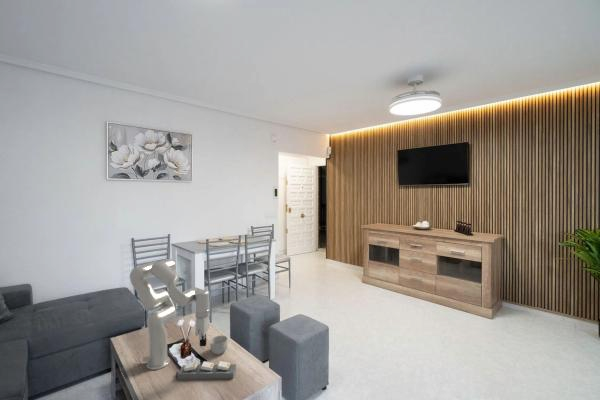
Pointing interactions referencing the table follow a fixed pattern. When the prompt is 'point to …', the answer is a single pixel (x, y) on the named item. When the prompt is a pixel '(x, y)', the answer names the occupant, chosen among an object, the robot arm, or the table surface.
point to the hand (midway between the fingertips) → (203, 345)
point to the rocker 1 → (190, 366)
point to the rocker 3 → (223, 365)
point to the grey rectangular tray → (207, 373)
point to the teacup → (218, 344)
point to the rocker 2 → (207, 366)
